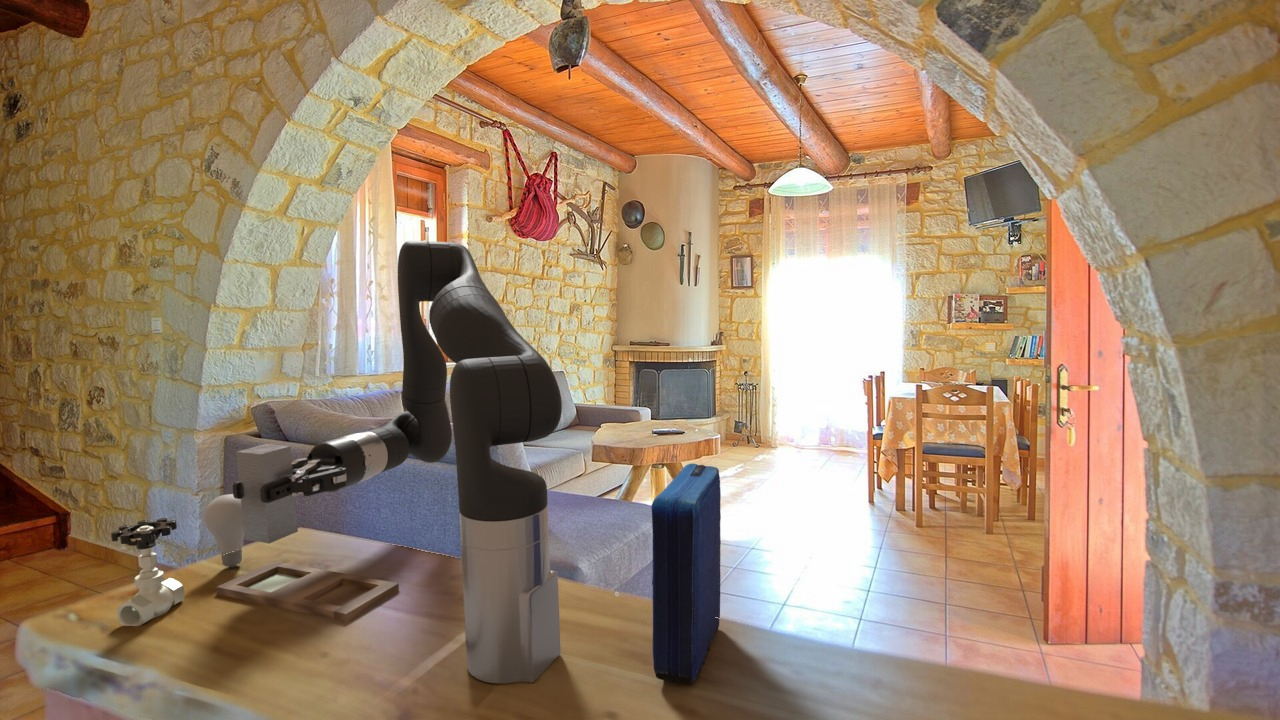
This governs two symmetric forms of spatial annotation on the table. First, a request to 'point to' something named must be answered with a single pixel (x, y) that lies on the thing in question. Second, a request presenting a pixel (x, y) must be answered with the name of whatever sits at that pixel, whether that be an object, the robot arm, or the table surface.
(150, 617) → the valve
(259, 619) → the table surface
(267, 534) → the metal block
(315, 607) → the tray
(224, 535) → the lightbulb
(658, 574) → the blue case
